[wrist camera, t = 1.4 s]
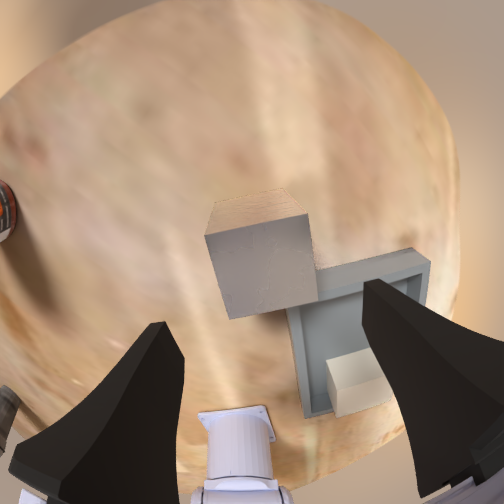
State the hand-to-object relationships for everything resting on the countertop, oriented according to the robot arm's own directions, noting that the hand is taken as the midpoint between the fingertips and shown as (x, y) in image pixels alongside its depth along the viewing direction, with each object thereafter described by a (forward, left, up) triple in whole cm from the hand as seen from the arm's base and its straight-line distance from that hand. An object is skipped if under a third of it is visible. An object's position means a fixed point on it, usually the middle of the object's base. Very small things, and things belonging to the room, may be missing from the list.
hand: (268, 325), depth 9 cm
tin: (0, 0, -11) cm, 11 cm away
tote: (-13, -7, -11) cm, 18 cm away
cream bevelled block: (-17, -7, -10) cm, 21 cm away
